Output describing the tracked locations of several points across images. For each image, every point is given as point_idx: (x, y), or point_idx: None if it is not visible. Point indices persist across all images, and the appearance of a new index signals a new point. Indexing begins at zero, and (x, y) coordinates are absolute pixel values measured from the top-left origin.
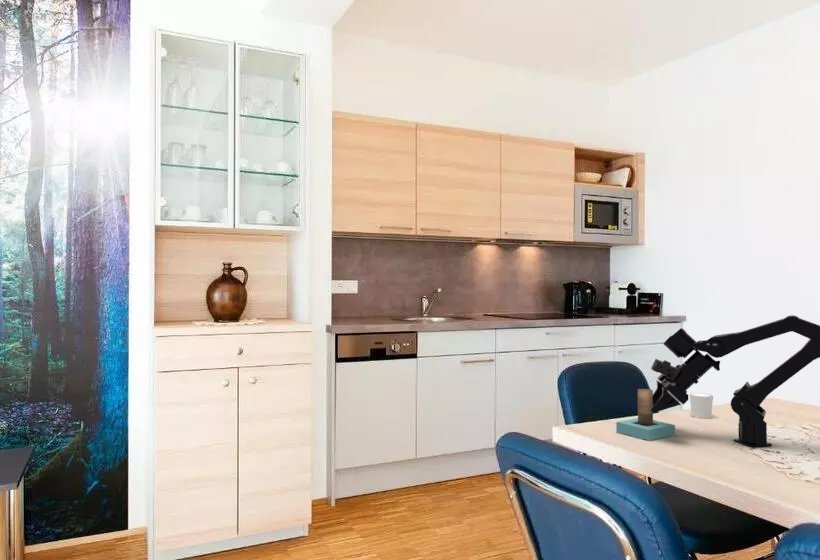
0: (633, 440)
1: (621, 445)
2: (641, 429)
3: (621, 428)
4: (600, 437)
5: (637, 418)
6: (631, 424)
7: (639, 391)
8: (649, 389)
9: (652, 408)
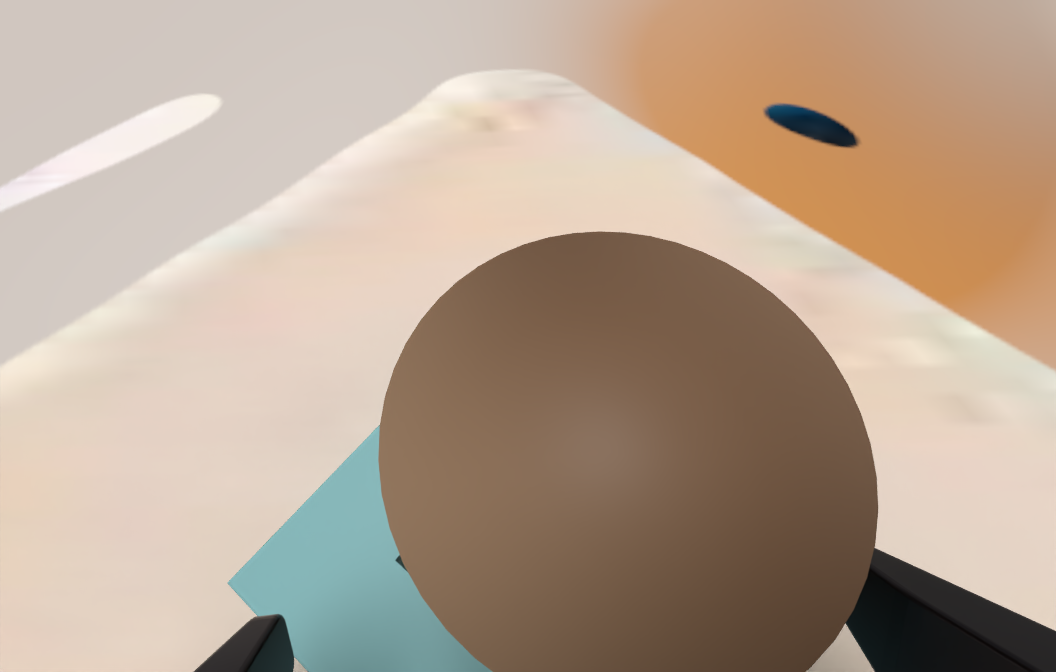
0: (285, 455)
1: (118, 376)
2: (307, 504)
3: None
4: (337, 248)
5: None
6: None
7: (472, 287)
8: (841, 574)
9: (216, 653)
